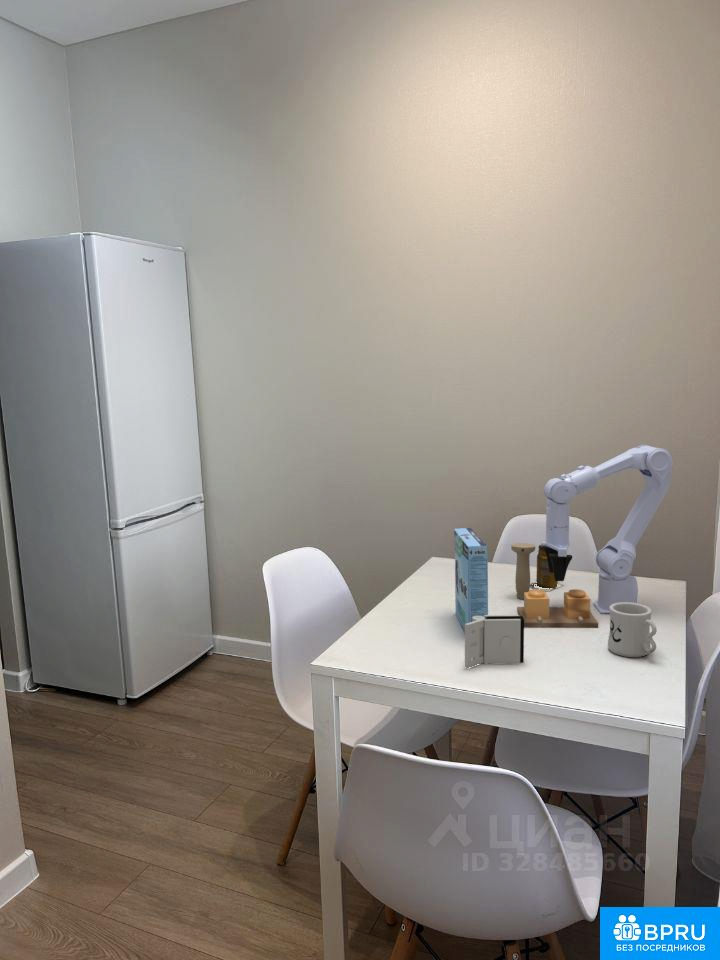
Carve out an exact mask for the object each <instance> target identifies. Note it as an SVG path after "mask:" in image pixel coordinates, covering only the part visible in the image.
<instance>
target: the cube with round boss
mask: <svg viewBox="0 0 720 960" xmlns="http://www.w3.org/2000/svg"><path fill="white" fill-rule="evenodd" d="M546 592H547V591H543V590H538V589H534V588H532V589H529V591H528V592H524V599H523V607H524V612H525V615H526V617H527V618H537V617H538V616H540V617H541V618H549V607H550V598H549V596H548V594H547V593H546Z"/></svg>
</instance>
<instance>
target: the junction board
mask: <svg viewBox="0 0 720 960" xmlns="http://www.w3.org/2000/svg"><path fill="white" fill-rule="evenodd" d="M516 612H517V615H519V616H523V618H524V628H557V629H558V628H561V629H562V628H565V629H566V628H568V629H569V628H576V629H577V628H578V629H580V628H581V629H582V628H583V629H584V628H587V629H588V628H592V629H594V628H599V621H598V620H597V619H596V617H595V616H594V615H593V613H592V612H591V598H590V597H589V595H588V594H587V592H586V591H585V590H583V589H577V588H576V589H570V590H569V591H568V592H563V606H549V618H541V617H540V616H538V617H537V618H527V617H526V615H525V612H524V606H517V607H516Z"/></svg>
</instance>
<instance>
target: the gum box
mask: <svg viewBox="0 0 720 960" xmlns="http://www.w3.org/2000/svg"><path fill="white" fill-rule="evenodd" d="M453 531H454V587H455V588H454V591H455V592H454V593H455V600H454V601H455V606H454V607H455V614H456V617H457V620H458V621H459V623H460V625H461V627H462V629H463V631H464V632H465V624H467V623H470V622H472V617H473V616H483V617H484V615H489V575H488V574H489V572H488V569H489V565H488V563H489V560H488V559H489V557H488V555H489V553H488V550H489V549H488V545H487V544H486V543H485V542H484V541H483V539H482V538H481V537H480V536H479V535H478V534H477V533H476V531H474V529H473V528H472V527H464V528H463V527H462V528H461V527H460V528H454V529H453Z"/></svg>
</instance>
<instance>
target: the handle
mask: <svg viewBox="0 0 720 960" xmlns="http://www.w3.org/2000/svg"><path fill="white" fill-rule="evenodd" d="M510 547H511V550H512V551H513V552H514V553H515V554H516V567H515V590H516V591H515V592H516V598H517V599H519V600H524V592H528V591H529V590H531V587H530V584H531V567H530V566H531V565H530V564H531V563H530V555H531V553H534V552H535V551H536V544H534V543H528V542H527V543H525V542H516V543H515V542H514V543H511V545H510Z"/></svg>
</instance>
